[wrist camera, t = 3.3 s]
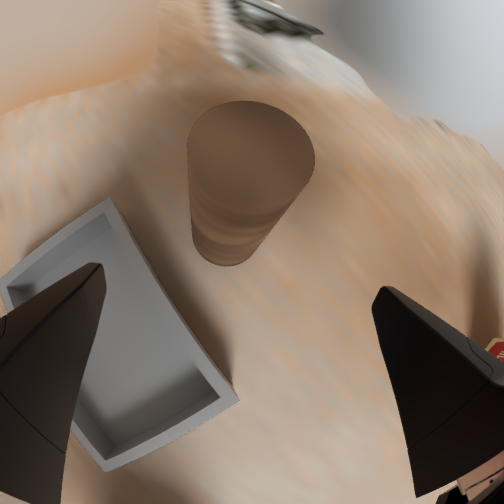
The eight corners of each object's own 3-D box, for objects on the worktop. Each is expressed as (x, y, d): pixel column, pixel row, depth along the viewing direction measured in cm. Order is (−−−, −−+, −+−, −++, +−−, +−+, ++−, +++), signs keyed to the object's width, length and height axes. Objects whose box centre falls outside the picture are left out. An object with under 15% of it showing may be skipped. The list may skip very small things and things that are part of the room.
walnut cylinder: (216, 279, 20) (235, 230, 9) (179, 223, 20) (165, 128, 10) (272, 243, 21) (338, 169, 11) (235, 191, 22) (266, 89, 11)
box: (117, 452, 15) (105, 472, 11) (21, 288, 16) (-3, 282, 13) (232, 387, 18) (239, 400, 15) (122, 215, 19) (109, 196, 16)
